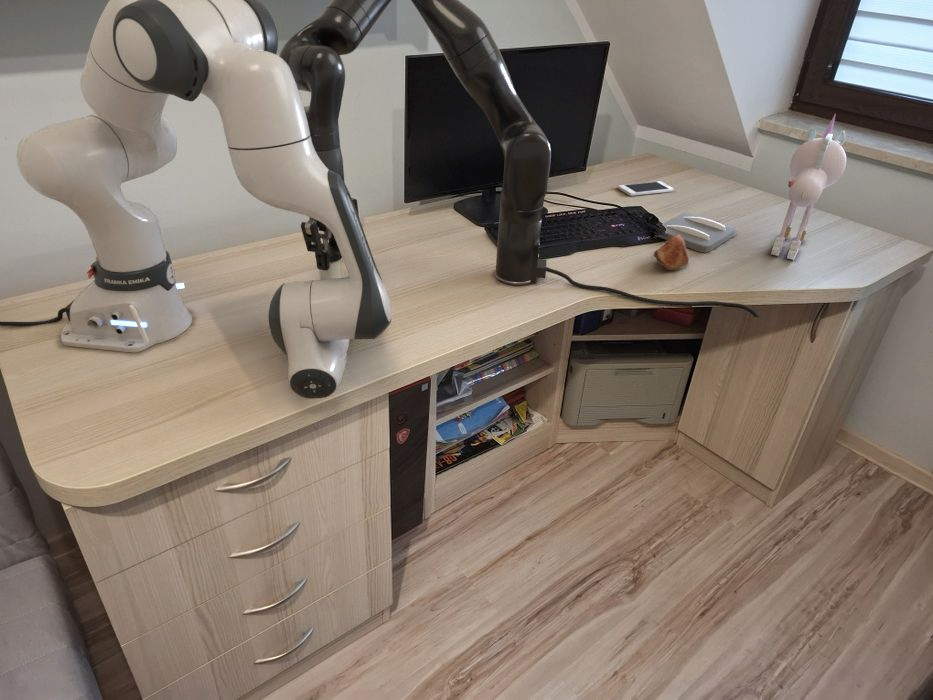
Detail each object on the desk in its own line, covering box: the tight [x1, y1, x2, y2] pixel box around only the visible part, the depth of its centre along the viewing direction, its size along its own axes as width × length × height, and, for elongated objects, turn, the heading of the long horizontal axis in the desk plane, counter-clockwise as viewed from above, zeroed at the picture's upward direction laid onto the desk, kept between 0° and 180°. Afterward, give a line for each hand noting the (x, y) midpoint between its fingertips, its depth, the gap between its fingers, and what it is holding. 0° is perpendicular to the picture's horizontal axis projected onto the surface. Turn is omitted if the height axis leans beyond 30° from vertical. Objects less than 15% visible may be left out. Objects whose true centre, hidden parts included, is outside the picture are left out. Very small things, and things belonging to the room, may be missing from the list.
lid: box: [314, 242, 343, 262], centre depth 117 cm, size 5×5×2 cm
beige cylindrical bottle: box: [318, 258, 344, 280], centre depth 121 cm, size 4×4×16 cm
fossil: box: [653, 234, 690, 271], centre depth 150 cm, size 13×8×10 cm
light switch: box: [654, 212, 737, 253], centre depth 167 cm, size 18×3×15 cm
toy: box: [770, 112, 847, 261], centre depth 159 cm, size 12×36×30 cm, turn 148°
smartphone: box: [617, 180, 674, 197], centre depth 196 cm, size 7×16×1 cm, turn 111°
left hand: (333, 293), depth 122 cm, fingers closed on beige cylindrical bottle, 4 cm apart
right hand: (329, 262), depth 118 cm, fingers closed on lid, 4 cm apart
